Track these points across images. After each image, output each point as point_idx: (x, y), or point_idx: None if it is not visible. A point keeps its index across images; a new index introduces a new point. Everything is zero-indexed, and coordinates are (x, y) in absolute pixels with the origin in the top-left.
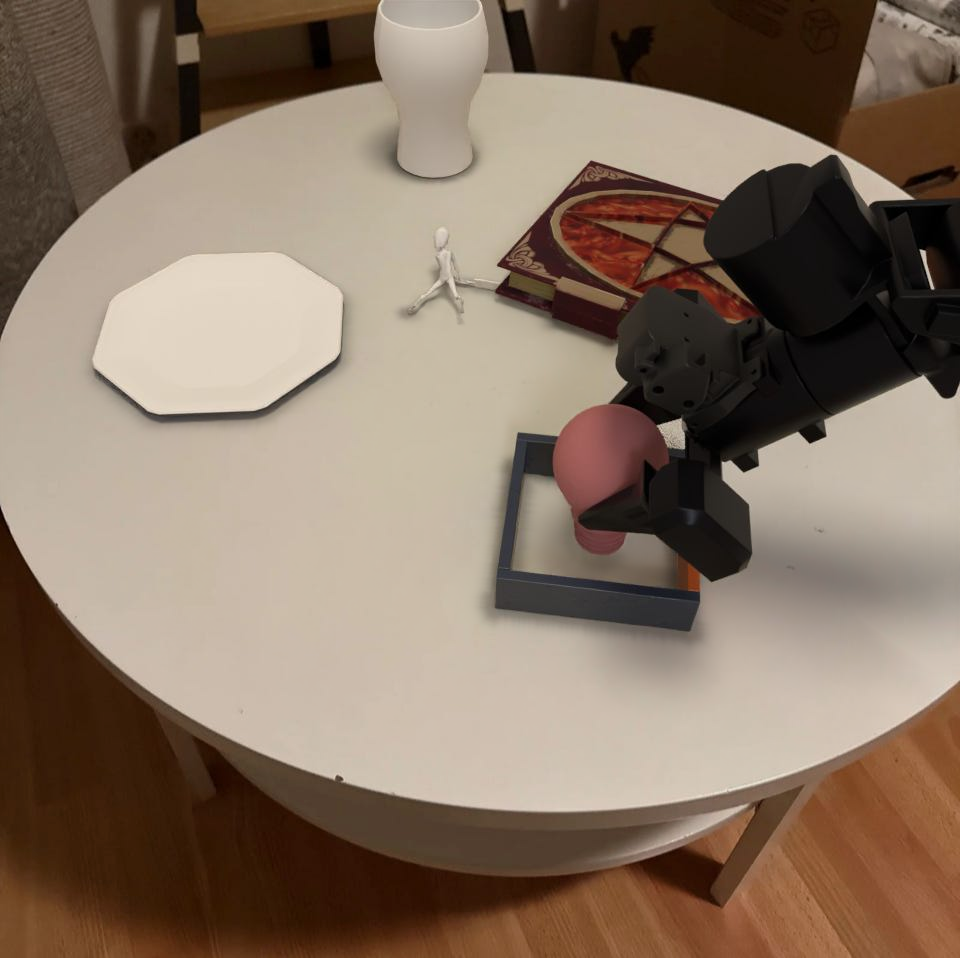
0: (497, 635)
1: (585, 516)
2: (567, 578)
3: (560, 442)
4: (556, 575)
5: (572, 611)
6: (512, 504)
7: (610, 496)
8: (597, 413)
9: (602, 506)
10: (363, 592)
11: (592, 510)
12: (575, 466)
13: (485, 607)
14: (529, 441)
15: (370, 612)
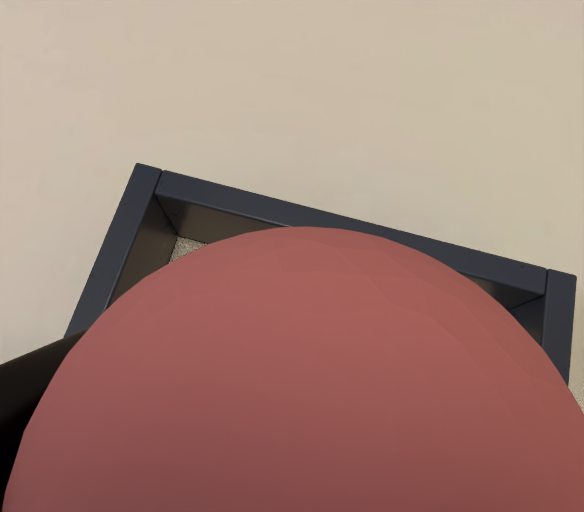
0: (109, 207)
1: (85, 332)
2: (97, 315)
3: (355, 232)
4: (114, 292)
5: None
6: (338, 227)
7: (5, 420)
8: (471, 426)
9: (14, 380)
10: (238, 23)
11: (66, 351)
12: (174, 262)
13: None
14: (545, 301)
15: (198, 29)
